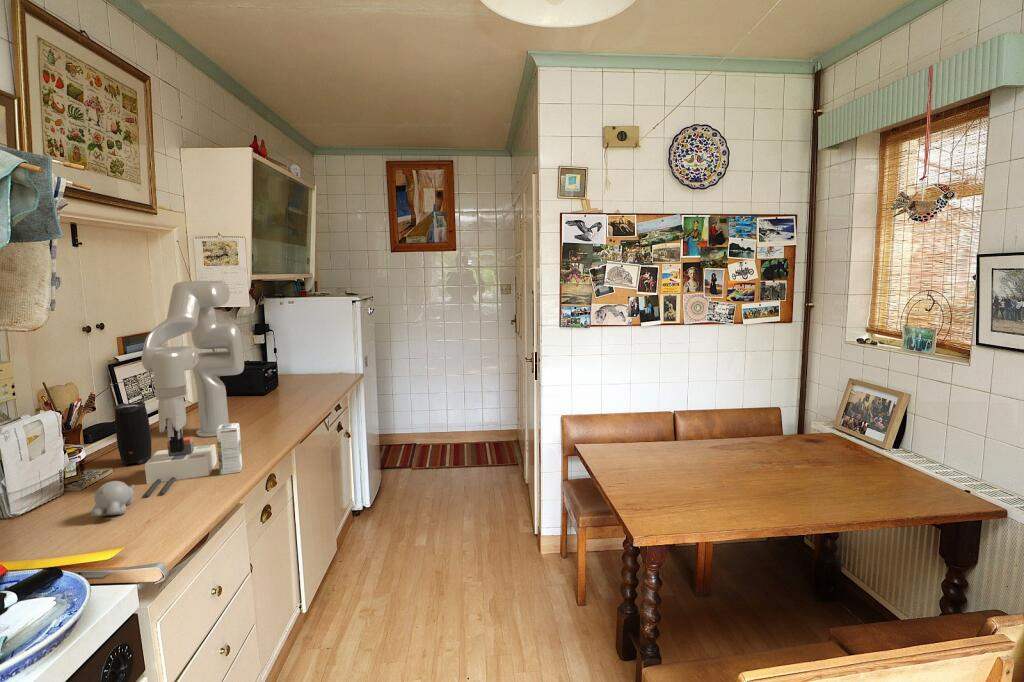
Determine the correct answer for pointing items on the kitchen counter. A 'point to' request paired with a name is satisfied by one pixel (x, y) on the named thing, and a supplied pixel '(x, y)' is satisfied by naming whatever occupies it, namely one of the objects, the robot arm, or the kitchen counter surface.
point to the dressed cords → (157, 485)
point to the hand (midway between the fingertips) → (177, 451)
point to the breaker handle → (187, 447)
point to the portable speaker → (133, 433)
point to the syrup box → (229, 448)
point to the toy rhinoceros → (112, 498)
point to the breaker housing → (181, 464)
